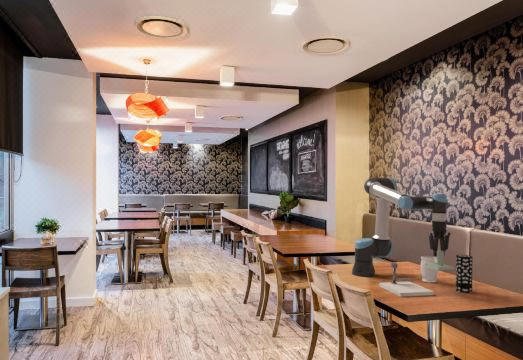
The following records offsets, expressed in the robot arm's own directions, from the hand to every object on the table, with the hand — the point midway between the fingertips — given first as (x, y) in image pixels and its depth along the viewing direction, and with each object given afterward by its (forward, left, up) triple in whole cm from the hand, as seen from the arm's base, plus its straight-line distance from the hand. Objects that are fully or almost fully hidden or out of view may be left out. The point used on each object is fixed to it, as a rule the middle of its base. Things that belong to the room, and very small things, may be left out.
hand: (438, 262), depth 233 cm
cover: (0, 0, -3) cm, 3 cm away
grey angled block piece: (-12, -16, -14) cm, 25 cm away
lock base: (-5, -18, -16) cm, 25 cm away
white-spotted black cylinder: (+2, +15, -17) cm, 22 cm away
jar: (-23, +10, -17) cm, 30 cm away
